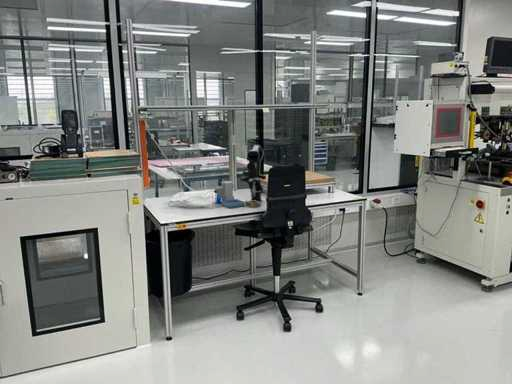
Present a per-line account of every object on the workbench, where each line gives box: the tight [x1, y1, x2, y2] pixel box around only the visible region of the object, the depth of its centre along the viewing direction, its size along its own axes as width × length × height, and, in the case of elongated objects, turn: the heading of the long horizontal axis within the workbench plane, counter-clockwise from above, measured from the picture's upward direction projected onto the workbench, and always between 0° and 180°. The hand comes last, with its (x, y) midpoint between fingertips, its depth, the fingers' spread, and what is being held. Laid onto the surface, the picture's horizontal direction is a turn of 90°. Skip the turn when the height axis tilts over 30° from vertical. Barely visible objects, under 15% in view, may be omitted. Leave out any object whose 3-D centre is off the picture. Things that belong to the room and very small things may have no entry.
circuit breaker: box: [213, 180, 235, 201], centre depth 312 cm, size 8×14×15 cm, turn 104°
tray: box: [220, 198, 245, 209], centre depth 302 cm, size 13×11×3 cm
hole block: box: [244, 200, 262, 209], centre depth 301 cm, size 8×8×3 cm
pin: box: [250, 180, 256, 198], centre depth 299 cm, size 4×4×11 cm
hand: (253, 189), depth 299 cm, fingers closed on pin, 3 cm apart
